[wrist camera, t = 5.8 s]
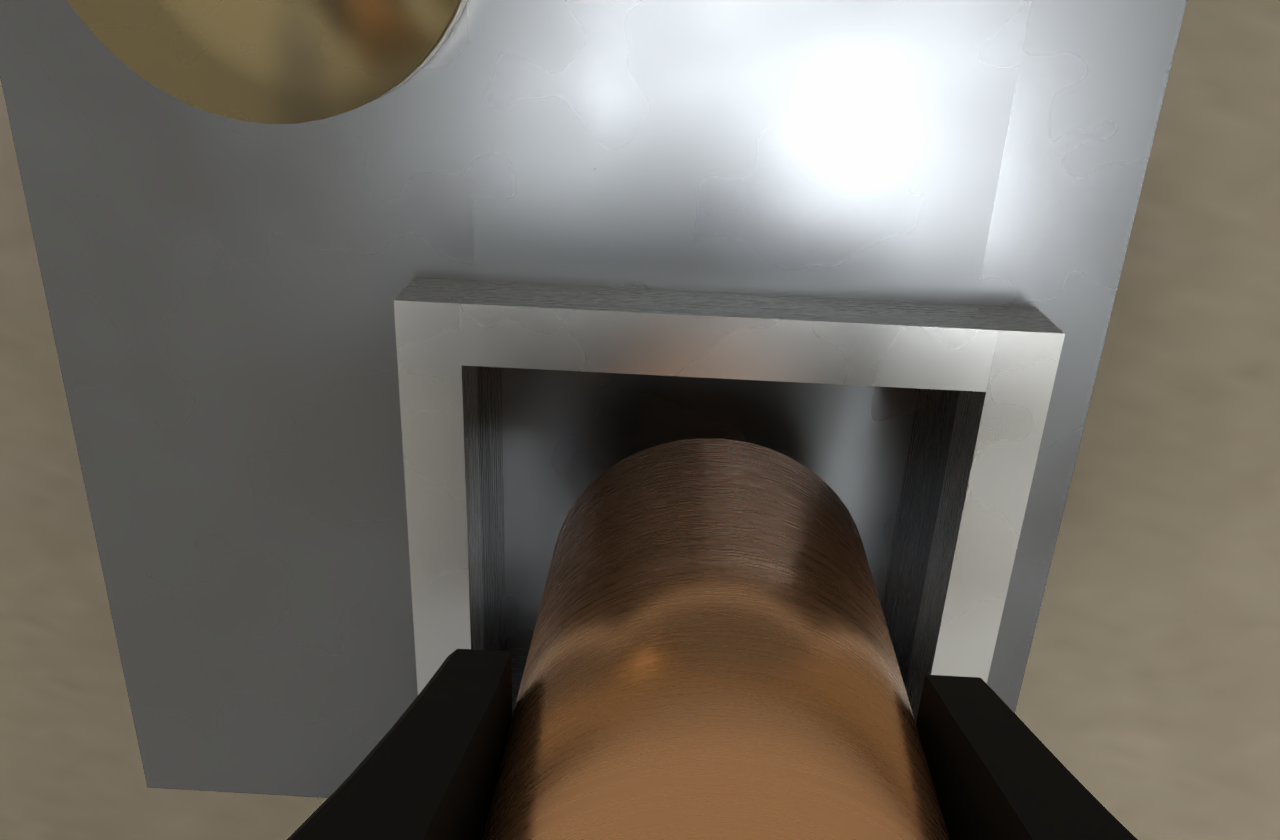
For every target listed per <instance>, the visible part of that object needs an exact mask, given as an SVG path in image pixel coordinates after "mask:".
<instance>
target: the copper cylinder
mask: <svg viewBox="0 0 1280 840" xmlns="http://www.w3.org/2000/svg"><path fill="white" fill-rule="evenodd" d="M482 840H950V839H949V835H948V832H947V828H946V825H945V822H944V818H943V815H942V811H941V808H940V805H939V801H938V798H937V794H936V791H935V788H934V784H933V781H932V777H931V774H930V771H929V767H928V764H927V760H926V757H925V754H924V750H923V747H922V743H921V740H920V737H919V733H918V730H917V726H916V723H915V720H914V716H913V713H912V709H911V706H910V703H909V699H908V696H907V692H906V689H905V686H904V682H903V679H902V675H901V672H900V669H899V665H898V662H897V658H896V655H895V652H894V648H893V645H892V641H891V638H890V635H889V631H888V628H887V624H886V621H885V618H884V614H883V611H882V607H881V604H880V601H879V597H878V594H877V590H876V587H875V584H874V580H873V577H872V573H871V570H870V567H869V563H868V560H867V556H866V553H865V550H864V546H863V543H862V540H861V537H860V534H859V531H858V529H857V526H856V524H855V522H854V520H853V518H852V516H851V514H850V512H849V511H848V509H847V507H846V506H845V505H844V503H843V502H842V501H841V499H840V498H839V497H838V495H837V494H836V493H835V492H834V491H833V490H832V489H831V488H830V487H829V486H828V485H827V484H826V482H825V481H824V480H823V479H821V478H820V477H819V476H818V475H816V474H815V473H814V472H812V471H811V470H810V469H808V468H807V467H806V466H804V465H802V464H801V463H799V462H797V461H795V460H794V459H792V458H790V457H788V456H786V455H784V454H782V453H779V452H777V451H774V450H772V449H770V448H767V447H763V446H760V445H756V444H753V443H749V442H744V441H737V440H731V439H720V438H697V439H685V440H679V441H674V442H669V443H664V444H660V445H657V446H654V447H651V448H648V449H645V450H642V451H640V452H638V453H636V454H633V455H631V456H629V457H627V458H625V459H623V460H621V461H620V462H618V463H617V464H615V465H614V466H612V467H611V468H609V469H608V470H606V471H605V472H603V473H602V474H601V475H600V476H599V477H598V478H596V479H595V480H594V481H593V482H592V483H591V484H590V485H589V486H588V487H587V488H586V489H585V490H584V491H583V493H582V494H581V495H580V496H579V497H578V498H577V500H576V501H575V503H574V504H573V506H572V507H571V509H570V511H569V512H568V514H567V516H566V518H565V520H564V522H563V524H562V526H561V529H560V531H559V534H558V538H557V541H556V545H555V548H554V552H553V556H552V560H551V564H550V568H549V572H548V576H547V580H546V585H545V589H544V593H543V597H542V601H541V605H540V609H539V613H538V617H537V621H536V625H535V629H534V633H533V637H532V641H531V645H530V649H529V653H528V657H527V661H526V665H525V669H524V673H523V677H522V681H521V685H520V689H519V693H518V697H517V701H516V705H515V709H514V713H513V717H512V721H511V725H510V729H509V733H508V737H507V741H506V745H505V749H504V753H503V757H502V761H501V765H500V769H499V773H498V777H497V781H496V785H495V789H494V793H493V797H492V801H491V805H490V809H489V813H488V817H487V821H486V825H485V829H484V833H483V837H482Z"/></svg>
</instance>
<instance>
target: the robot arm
mask: <svg viewBox="0 0 1280 840" xmlns="http://www.w3.org/2000/svg"><path fill="white" fill-rule="evenodd" d="M511 721H512V653H511V652H509V651H491V650H473V649H456V650H455V651H454V652H453V653H451V654H450V655H449V656H448V657H447V658H446V659H445V661H444V662H443V663H442V665H441V666H440V667H439V669H438V670H437V671H436V673H435V674H434V675H433V677H432V678H431V679H430V681H429V682H428V683H427V685H426V686H425V687H424V688H423V690H422V691H421V692H420V694H419V695H418V696H417V697H416V699H415V700H414V701H413V702H412V704H411V705H410V706H409V707H408V708H407V710H406V711H405V712H404V713H403V715H402V716H401V717H400V718H399V719H398V721H397V722H396V723H395V724H394V725H393V727H392V728H391V729H390V730H389V731H388V733H387V734H386V735H385V736H384V737H383V738H382V739H381V741H380V742H379V743H378V744H377V745H376V746H375V747H374V748H373V750H372V751H371V752H370V753H369V754H368V755H367V756H366V758H365V759H364V760H363V761H362V762H361V763H360V764H359V765H358V767H357V768H356V769H355V770H354V771H353V772H352V773H351V775H350V776H349V777H348V778H347V779H346V780H345V781H344V782H343V783H342V784H341V785H340V786H339V787H338V789H337V790H336V791H335V792H334V793H333V794H332V795H331V796H330V797H329V798H328V799H327V800H326V801H325V802H324V803H323V804H322V805H321V806H320V807H319V808H318V809H317V810H316V811H315V812H314V813H313V814H312V815H311V816H310V817H309V818H308V819H307V820H306V821H305V822H304V823H303V824H302V825H301V826H300V827H299V828H298V829H297V830H296V831H295V832H294V833H293V834H292V835H291V836H290V837H289V838H288V839H287V840H482V837H483V833H484V829H485V825H486V821H487V817H488V813H489V809H490V805H491V801H492V797H493V793H494V789H495V785H496V781H497V777H498V773H499V769H500V765H501V761H502V757H503V753H504V749H505V745H506V741H507V737H508V733H509V729H510V725H511ZM916 726H917V730H918V733H919V737H920V740H921V743H922V747H923V750H924V754H925V757H926V760H927V764H928V767H929V771H930V774H931V777H932V781H933V784H934V788H935V791H936V794H937V798H938V801H939V805H940V808H941V811H942V815H943V818H944V822H945V825H946V828H947V832H948V835H949V839H950V840H1137V839H1136V838H1135V837H1134V836H1133V835H1132V834H1131V833H1130V832H1129V831H1128V830H1127V829H1126V828H1125V827H1124V826H1123V825H1122V824H1121V823H1120V822H1119V821H1118V820H1117V819H1116V818H1115V817H1114V816H1113V815H1112V814H1111V813H1110V812H1109V811H1108V810H1107V809H1106V808H1104V807H1103V805H1102V804H1101V803H1100V802H1099V801H1098V800H1097V799H1096V798H1095V797H1094V796H1093V795H1092V794H1091V793H1090V792H1089V791H1088V790H1087V789H1086V788H1085V787H1084V786H1083V785H1082V784H1081V783H1080V782H1079V781H1078V780H1077V779H1076V778H1075V777H1074V776H1073V775H1072V774H1071V773H1070V772H1069V771H1068V770H1067V769H1066V768H1065V767H1064V766H1063V765H1062V763H1061V762H1060V761H1059V760H1058V759H1057V758H1056V757H1055V756H1054V755H1053V754H1052V753H1051V752H1050V751H1049V750H1048V749H1047V748H1046V746H1045V745H1044V744H1043V743H1042V742H1041V741H1040V740H1039V739H1038V738H1037V737H1036V736H1035V735H1034V734H1033V733H1032V732H1031V731H1030V729H1029V728H1028V727H1027V726H1026V725H1025V724H1024V723H1023V722H1022V721H1021V720H1020V719H1019V718H1018V717H1017V715H1016V714H1015V713H1014V712H1013V711H1012V710H1011V709H1010V708H1009V707H1008V706H1007V705H1006V704H1005V703H1004V701H1003V700H1002V699H1001V698H1000V697H999V696H998V695H997V694H996V693H995V692H994V691H993V690H992V689H991V688H990V687H989V686H988V685H987V684H986V683H985V682H984V681H983V679H982V678H980V677H961V676H943V675H925V678H924V683H923V688H922V693H921V699H920V704H919V709H918V714H917V719H916Z"/></svg>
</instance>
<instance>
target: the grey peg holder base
mask: <svg viewBox="0 0 1280 840" xmlns="http://www.w3.org/2000/svg"><path fill="white" fill-rule="evenodd" d="M1186 2H1187V0H0V77H1V82H2V87H3V91H4V96H5V101H6V106H7V111H8V116H9V120H10V125H11V130H12V135H13V140H14V145H15V149H16V154H17V159H18V164H19V169H20V174H21V178H22V183H23V188H24V193H25V198H26V203H27V207H28V212H29V217H30V222H31V227H32V232H33V236H34V241H35V246H36V251H37V256H38V261H39V265H40V270H41V275H42V280H43V285H44V290H45V294H46V299H47V304H48V309H49V314H50V319H51V323H52V328H53V333H54V338H55V343H56V348H57V352H58V357H59V362H60V367H61V372H62V377H63V381H64V386H65V391H66V396H67V401H68V406H69V410H70V415H71V420H72V425H73V430H74V435H75V439H76V444H77V449H78V454H79V459H80V464H81V468H82V473H83V478H84V483H85V488H86V493H87V497H88V502H89V507H90V512H91V517H92V522H93V526H94V531H95V536H96V541H97V546H98V551H99V555H100V560H101V565H102V570H103V575H104V580H105V584H106V589H107V594H108V599H109V604H110V609H111V614H112V618H113V623H114V628H115V633H116V638H117V643H118V647H119V652H120V657H121V662H122V667H123V672H124V676H125V681H126V686H127V691H128V696H129V701H130V705H131V710H132V715H133V720H134V725H135V730H136V734H137V739H138V744H139V749H140V754H141V759H142V763H143V768H144V773H145V778H146V783H147V787H148V788H165V789H183V790H200V791H218V792H235V793H253V794H270V795H287V796H305V797H322V798H329V797H330V796H331V795H332V794H333V793H334V792H335V791H336V790H337V789H338V787H339V786H340V785H341V784H342V783H343V782H344V781H345V780H346V779H347V778H348V777H349V776H350V775H351V773H352V772H353V771H354V770H355V769H356V768H357V767H358V765H359V764H360V763H361V762H362V761H363V760H364V759H365V758H366V756H367V755H368V754H369V753H370V752H371V751H372V750H373V748H374V747H375V746H376V745H377V744H378V743H379V742H380V741H381V739H382V738H383V737H384V736H385V735H386V734H387V733H388V731H389V730H390V729H391V728H392V727H393V725H394V724H395V723H396V722H397V721H398V719H399V718H400V717H401V716H402V715H403V713H404V712H405V711H406V710H407V708H408V707H409V706H410V705H411V704H412V702H413V701H414V700H415V699H416V697H417V696H418V695H419V694H420V692H421V691H422V690H423V688H424V687H425V686H426V685H427V683H428V682H429V681H430V679H431V678H432V677H433V675H434V674H435V673H436V671H437V670H438V669H439V667H440V666H441V665H442V663H443V662H444V661H445V659H446V658H447V657H448V656H449V655H450V654H451V653H453V652H454V651H455V650H456V649H473V650H491V651H509V652H511V653H512V717H513V713H514V709H515V705H516V701H517V697H518V693H519V689H520V685H521V681H522V677H523V673H524V669H525V665H526V661H527V657H528V653H529V649H530V645H531V641H532V637H533V633H534V629H535V625H536V621H537V617H538V613H539V609H540V605H541V601H542V597H543V593H544V589H545V585H546V580H547V576H548V572H549V568H550V564H551V560H552V556H553V552H554V548H555V545H556V541H557V538H558V534H559V531H560V529H561V526H562V524H563V522H564V520H565V518H566V516H567V514H568V512H569V511H570V509H571V507H572V506H573V504H574V503H575V501H576V500H577V498H578V497H579V496H580V495H581V494H582V493H583V491H584V490H585V489H586V488H587V487H588V486H589V485H590V484H591V483H592V482H593V481H594V480H595V479H596V478H598V477H599V476H600V475H601V474H602V473H603V472H605V471H606V470H608V469H609V468H611V467H612V466H614V465H615V464H617V463H618V462H620V461H621V460H623V459H625V458H627V457H629V456H631V455H633V454H636V453H638V452H640V451H642V450H645V449H648V448H651V447H654V446H657V445H660V444H664V443H669V442H674V441H679V440H685V439H697V438H720V439H731V440H737V441H744V442H749V443H753V444H756V445H760V446H763V447H767V448H770V449H772V450H774V451H777V452H779V453H782V454H784V455H786V456H788V457H790V458H792V459H794V460H795V461H797V462H799V463H801V464H802V465H804V466H806V467H807V468H808V469H810V470H811V471H812V472H814V473H815V474H816V475H818V476H819V477H820V478H821V479H823V480H824V481H825V482H826V484H827V485H828V486H829V487H830V488H831V489H832V490H833V491H834V492H835V493H836V494H837V495H838V497H839V498H840V499H841V501H842V502H843V503H844V505H845V506H846V507H847V509H848V511H849V512H850V514H851V516H852V518H853V520H854V522H855V524H856V526H857V529H858V531H859V534H860V537H861V540H862V543H863V546H864V550H865V553H866V556H867V560H868V563H869V567H870V570H871V573H872V577H873V580H874V584H875V587H876V590H877V594H878V597H879V601H880V604H881V607H882V611H883V614H884V618H885V621H886V624H887V628H888V631H889V635H890V638H891V641H892V645H893V648H894V652H895V655H896V658H897V662H898V665H899V669H900V672H901V675H902V679H903V682H904V686H905V689H906V692H907V696H908V699H909V703H910V706H911V709H912V713H913V716H914V720H915V723H916V719H917V714H918V709H919V704H920V699H921V693H922V688H923V683H924V678H925V675H943V676H961V677H980V678H982V679H983V681H984V682H985V683H986V684H987V685H988V686H989V687H990V688H991V689H992V690H993V691H994V692H995V693H996V694H997V695H998V696H999V697H1000V698H1001V699H1002V700H1003V701H1004V703H1005V704H1006V705H1007V706H1008V707H1009V708H1010V709H1011V710H1012V711H1013V712H1014V713H1015V710H1016V706H1017V702H1018V697H1019V693H1020V689H1021V685H1022V681H1023V677H1024V673H1025V668H1026V664H1027V660H1028V656H1029V652H1030V648H1031V644H1032V639H1033V635H1034V631H1035V627H1036V623H1037V619H1038V615H1039V610H1040V606H1041V602H1042V598H1043V594H1044V590H1045V586H1046V582H1047V577H1048V573H1049V569H1050V565H1051V561H1052V557H1053V553H1054V548H1055V544H1056V540H1057V536H1058V532H1059V528H1060V524H1061V519H1062V515H1063V511H1064V507H1065V503H1066V499H1067V495H1068V490H1069V486H1070V482H1071V478H1072V474H1073V470H1074V466H1075V461H1076V457H1077V453H1078V449H1079V445H1080V441H1081V437H1082V433H1083V428H1084V424H1085V420H1086V416H1087V412H1088V408H1089V404H1090V399H1091V395H1092V391H1093V387H1094V383H1095V379H1096V375H1097V370H1098V366H1099V362H1100V358H1101V354H1102V350H1103V346H1104V341H1105V337H1106V333H1107V329H1108V325H1109V321H1110V317H1111V312H1112V308H1113V304H1114V300H1115V296H1116V292H1117V288H1118V284H1119V279H1120V275H1121V271H1122V267H1123V263H1124V259H1125V255H1126V250H1127V246H1128V242H1129V238H1130V234H1131V230H1132V226H1133V221H1134V217H1135V213H1136V209H1137V205H1138V201H1139V197H1140V192H1141V188H1142V184H1143V180H1144V176H1145V172H1146V168H1147V163H1148V159H1149V155H1150V151H1151V147H1152V143H1153V139H1154V134H1155V130H1156V126H1157V122H1158V118H1159V114H1160V110H1161V106H1162V101H1163V97H1164V93H1165V89H1166V85H1167V81H1168V77H1169V72H1170V68H1171V64H1172V60H1173V56H1174V52H1175V48H1176V43H1177V39H1178V35H1179V31H1180V27H1181V23H1182V19H1183V14H1184V10H1185V6H1186Z"/></svg>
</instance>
